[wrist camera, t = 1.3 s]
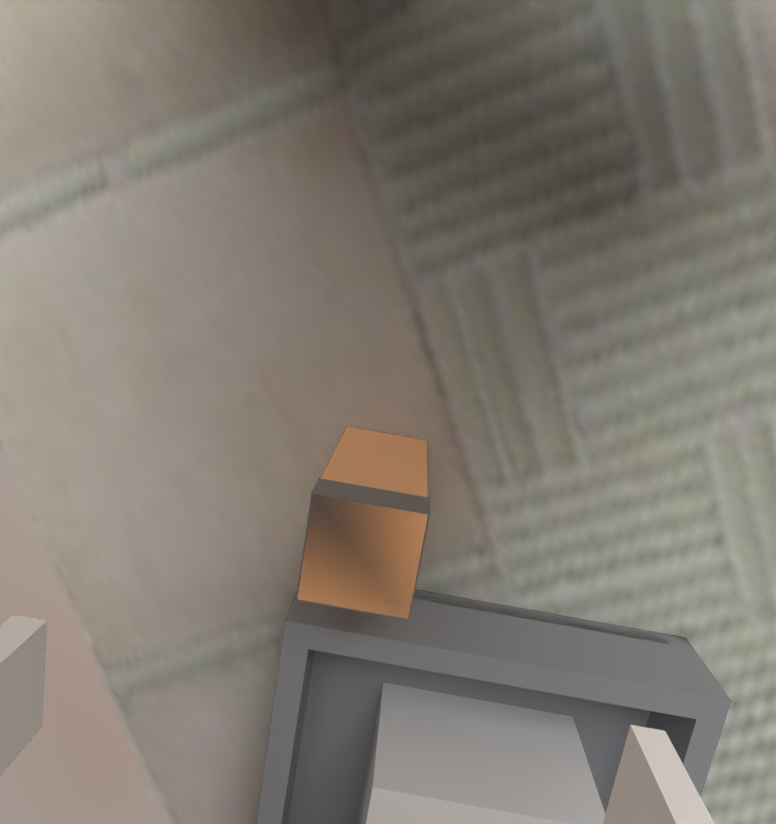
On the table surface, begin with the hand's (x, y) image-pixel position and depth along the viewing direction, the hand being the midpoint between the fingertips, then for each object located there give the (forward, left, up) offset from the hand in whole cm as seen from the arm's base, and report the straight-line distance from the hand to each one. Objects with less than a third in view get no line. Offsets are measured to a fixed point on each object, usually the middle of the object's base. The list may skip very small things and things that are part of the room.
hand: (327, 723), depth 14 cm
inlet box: (+16, +7, -18) cm, 25 cm away
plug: (0, 0, -18) cm, 18 cm away
